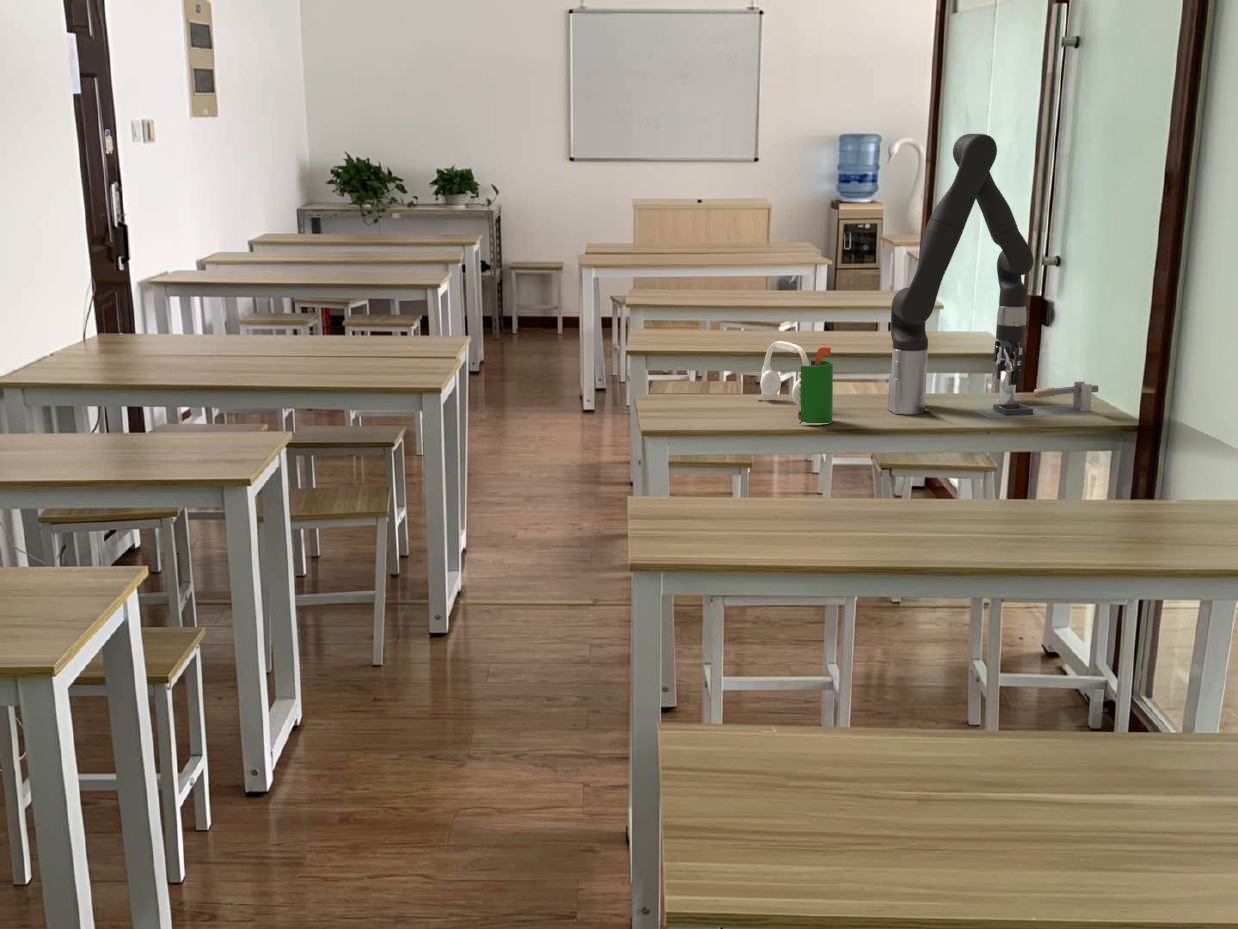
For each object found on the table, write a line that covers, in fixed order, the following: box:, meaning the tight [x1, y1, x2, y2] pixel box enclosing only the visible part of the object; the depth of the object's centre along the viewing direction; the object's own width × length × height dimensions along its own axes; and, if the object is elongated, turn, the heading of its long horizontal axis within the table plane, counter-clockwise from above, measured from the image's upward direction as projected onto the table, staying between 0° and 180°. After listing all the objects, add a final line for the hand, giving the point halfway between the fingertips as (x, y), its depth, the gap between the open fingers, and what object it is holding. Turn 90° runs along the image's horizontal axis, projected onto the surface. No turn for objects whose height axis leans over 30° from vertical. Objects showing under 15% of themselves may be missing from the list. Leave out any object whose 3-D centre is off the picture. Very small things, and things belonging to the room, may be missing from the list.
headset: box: [757, 340, 810, 406], centre depth 346 cm, size 20×7×18 cm, turn 29°
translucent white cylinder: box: [998, 369, 1016, 404], centre depth 339 cm, size 4×4×10 cm
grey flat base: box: [971, 381, 1101, 419], centre depth 327 cm, size 30×12×8 cm, turn 97°
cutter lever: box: [1033, 384, 1099, 398], centre depth 327 cm, size 17×2×2 cm, turn 97°
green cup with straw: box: [797, 345, 834, 423], centre depth 324 cm, size 10×9×20 cm
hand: (1007, 381), depth 338 cm, fingers open, 8 cm apart
